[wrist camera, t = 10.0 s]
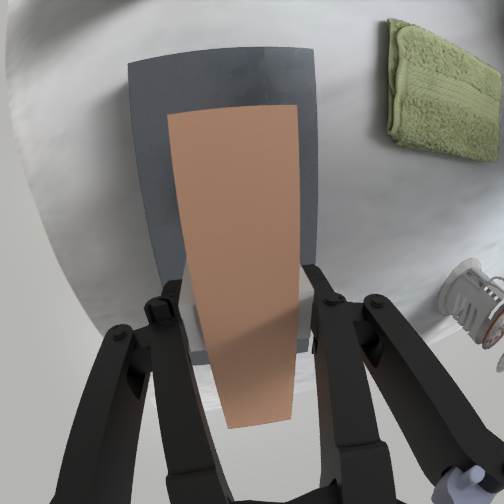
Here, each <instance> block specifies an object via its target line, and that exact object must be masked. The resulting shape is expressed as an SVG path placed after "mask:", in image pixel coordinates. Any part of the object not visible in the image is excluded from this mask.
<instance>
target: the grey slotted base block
mask: <svg viewBox="0 0 504 504" xmlns="http://www.w3.org/2000/svg"><path fill="white" fill-rule="evenodd" d="M128 80H129V95H130V108H131V118H132V128H133V136H134V145H135V152H136V159H137V166H138V173H139V179H140V185H141V191H142V197H143V202H144V208H145V213H146V218H147V223H148V228H149V233H150V237H151V242H152V247H153V251H154V255H155V259H156V264H157V268H158V272H159V276H160V280H161V284H162V287H164V285H165V284H166V283H167V282H168V281H169V280H178V279H183V273H184V268H185V262H186V257H187V255H186V250H185V244H184V238H183V232H182V226H181V220H180V214H179V207H178V201H177V194H176V187H175V180H174V172H173V164H172V156H171V147H170V138H169V129H168V119H167V115H170V114H176V113H183V112H190V111H198V110H207V109H216V108H227V107H241V106H260V105H297V115H298V138H299V171H300V264H301V265H308V264H314V265H315V256H316V235H317V204H318V131H317V101H316V81H315V66H314V52H313V49H308V48H293V47H237V48H221V49H209V50H200V51H191V52H184V53H177V54H171V55H165V56H160V57H155V58H150V59H145V60H140V61H136V62H132V63H128ZM308 344H309V337H308V338H302V339H297V345H296V353H302V352H307V351H308ZM188 352H189V355H190V358H191V363H192V365H205V364H210V361H209V357H208V353H207V350H206V351H193V352H191V350H190V347H189V351H188Z"/></svg>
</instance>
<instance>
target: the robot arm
mask: <svg viewBox="0 0 504 504" xmlns="http://www.w3.org/2000/svg"><path fill="white" fill-rule="evenodd" d="M144 310H145V313H146V316H147V319H148V322H149V325H148V326H146V327H143V328H140V329H137V330H132V328H131V326H129V325H126V324H120V325H116V326H114V327H112V328H111V329H109V330H108V332H107V333H106V335H105V337H104V339H103V342H102V345H101V347H100V349H99V352H98V354H97V357H96V359H95V362H94V364H93V367H92V370H91V372H90V375H89V377H88V380H87V383H86V386H85V388H84V391H83V394H82V397H81V400H80V403H79V406H78V409H77V412H76V415H75V418H74V421H73V425H72V428H71V431H70V435H69V439H68V442H67V445H66V449H65V453H64V457H63V461H62V465H61V469H60V473H59V478H58V482H57V487H56V492H55V495H54V497H53V499H52V500H51V502H50V504H131V493H132V484H133V475H134V467H135V459H136V451H137V444H138V439H139V432H140V426H141V419H142V414H143V409H144V403H145V398H146V393H147V388H148V383H149V378H150V372H152V371H153V380H154V388H155V397H156V404H157V411H158V418H159V425H160V430H161V437H162V443H163V448H164V453H165V458H166V463H167V468H168V475H167V476H166V486H167V491H168V495H169V499H170V503H171V504H406V503H404V502H402V501H400V500H398V499H396V493H395V485H394V478H393V471H392V465H391V458H390V453H389V449H388V446H387V444H386V442H383V441H381V440H380V437H379V433H378V428H377V422H376V417H375V412H374V407H373V402H372V398H371V393H370V388H369V384H368V380H367V375H366V371H365V367H364V363H365V365H366V367H367V369H368V370H369V372H370V374H371V375H372V377H373V379H374V381H375V382H376V384H377V386H378V388H379V390H380V392H381V393H382V395H383V397H384V399H385V401H386V402H387V404H388V406H389V408H390V410H391V412H392V413H393V415H394V417H395V419H396V421H397V423H398V425H399V427H400V428H401V430H402V432H403V434H404V436H405V438H406V440H407V442H408V444H409V446H410V448H411V450H412V452H413V453H414V456H415V457H416V459H417V461H418V463H419V465H420V467H421V469H422V471H423V472H424V474H425V475H426V477H427V478H428V479H429V481H430V482H431V483H432V484H433V485H434V486H435V489H434V493H433V495H432V498H431V500H432V502H433V503H434V504H490V503H491V501H492V500H493V498H494V497H495V495H496V494H497V493H498V492H500V491H501V490H503V489H504V442H503V441H502V440H501V439H499V438H498V437H497V436H496V435H494V434H493V433H492V432H490V431H489V430H488V429H486V427H485V425H484V424H483V422H482V421H481V419H480V418H479V416H478V415H477V413H476V412H475V410H474V409H473V407H472V406H471V404H470V403H469V401H468V400H467V399H466V397H465V396H464V394H463V393H462V391H461V390H460V389H459V387H458V386H457V384H456V383H455V382H454V380H453V379H452V377H451V376H450V375H449V373H448V372H447V371H446V369H445V368H444V367H443V366H442V364H441V363H440V361H439V360H438V359H437V358H436V356H435V355H434V354H433V352H432V351H431V350H430V348H429V347H428V346H427V345H426V343H425V342H424V341H423V340H422V338H421V337H420V336H419V335H418V333H417V332H416V331H415V330H414V328H413V327H412V326H411V325H410V324H409V322H408V321H407V320H406V319H405V318H404V316H403V315H402V314H401V313H400V312H399V310H398V309H397V308H396V307H395V306H394V305H393V303H392V302H391V301H390V300H389V299H388V298H387V297H385V296H383V295H379V294H371V295H368V296H366V297H365V298H364V302H363V303H353V302H347V301H346V299H345V297H344V296H342V295H341V294H338V293H335V292H334V290H333V289H332V287H331V286H330V284H329V282H328V281H327V279H326V278H325V276H324V275H323V273H322V271H321V270H320V268H318V267H317V266H315V265H314V264H308V265H301V264H300V268H299V302H298V326H297V339H302V338H308V337H310V333H311V330H312V332H313V335H314V337H313V346H312V354H314V360H315V371H316V383H317V395H318V410H319V426H320V443H321V444H320V446H321V477H320V488H318V489H315V490H313V491H311V492H309V493H307V494H305V495H302V496H300V497H298V498H296V499H293V500H290V501H288V502H285V503H279V502H264V501H253V500H245V501H234V498H233V496H232V493H231V491H230V489H229V487H228V484H227V482H226V479H225V476H224V473H223V470H222V467H221V464H220V461H219V458H218V455H217V452H216V449H215V446H214V443H213V440H212V436H211V433H210V430H209V426H208V423H207V420H206V416H205V413H204V409H203V405H202V402H201V398H200V394H199V391H198V387H197V383H196V379H195V375H194V371H193V367H192V363H191V358H190V355H189V352H188V351H189V347H190V350H191V352H193V351H206V350H207V349H206V345H205V341H204V336H203V332H202V328H201V323H200V319H199V314H198V310H197V305H196V301H195V296H194V291H193V286H192V281H191V276H190V271H189V266H188V260H187V257H186V262H185V268H184V273H183V279H178V280H169V281H168V282H167V283H166V284H165V285H164V287H163V291H162V294H161V296H159V297H155V298H153V299H151V300H149V301H148V302H147V303H146V304H145V307H144ZM363 362H364V363H363Z"/></svg>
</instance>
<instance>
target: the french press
mask: <svg viewBox="0 0 504 504" xmlns="http://www.w3.org/2000/svg"><path fill="white" fill-rule="evenodd" d="M496 278H497V279H500V280H503V281H504V278H502V277H493V278H492V279H490V278H489V277H488V276H487V275H485V274H484V273H483V272H482V271H481V263H480V262H479V261H478V259H474V258H470V259H468V260H465V261H463V262H462V263H461V264H460V265H459V266H457V267H456V268H455V269H454V270H453V271H452V273H451V274H450V276H449V277H448V278H447V280H446V281H445V283H444V285H443V287H442V289H441V291H440V293H439V298H438V303H437V306H438V311H439V312H440V313H441V314H443V315H453V318H454V319H455V320H457V321H458V323H459V324H460V325H461V326H464V327H463V329H464V330H465V331H470V332H469V333H468V335H469V336H470V337H471V338H472V339H473V341H474V342H475V343H476V344H481V343H482V347H483V349H489V348H491V347H492V346H494V345H495V344H496V343H497V342H498V341H499V340H500V339H501V338H502V336H503V335H504V304H503V305H501V306H500V307H499V309H498V310H497V311H496V312H495V313H494V315H493V317H492V319H491V320H490V319H489V318H488V317H489V315H490V313H491V311H492V310H493V309H494V308H495V307H496V305H497V304H498V303H499V302H500V301H502V300H503V298H504V290H503V289H502V288H500V287H499V286H498V285H497V284H496V283H495V282H494V281H492V280H493V279H496ZM486 286H487V287H488V289H487V290H486V291H484V290H483V289H484V288H485V287H486ZM490 291H492V292H493V294H492V295H491V296H490V295H489V292H490ZM496 295H497V296H498V297H499V298H498V299H497V300H496V301H495V300H494V299H493V298H494V297H495V296H496ZM457 316H458V317H459V318H457ZM462 322H463V323H462ZM468 328H469V329H468ZM502 371H504V353H503V355H502V357H501V358H500V360H499V362H498V365H497V372H502Z"/></svg>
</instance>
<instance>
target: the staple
mask: <svg viewBox="0 0 504 504" xmlns="http://www.w3.org/2000/svg"><path fill="white" fill-rule="evenodd" d="M167 119H168V129H169V138H170V147H171V156H172V164H173V172H174V180H175V187H176V194H177V201H178V207H179V214H180V220H181V226H182V232H183V238H184V244H185V250H186V255H187V260H188V266H189V271H190V276H191V281H192V286H193V291H194V296H195V301H196V305H197V310H198V314H199V319H200V323H201V328H202V332H203V336H204V341H205V345H206V349H207V353H208V357H209V361H210V365H211V369H212V373H213V376H214V380H215V384H216V388H217V391H218V395H219V398H220V402H221V406H222V409H223V412H224V416H225V419H226V423H227V426H228V429H232V428H240V427H247V426H254V425H261V424H267V423H273V422H278V421H283V420H288V419H291V413H292V401H293V390H294V376H295V362H296V345H297V326H298V302H299V268H300V171H299V138H298V115H297V105H260V106H241V107H227V108H216V109H207V110H198V111H190V112H183V113H176V114H170V115H167Z"/></svg>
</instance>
